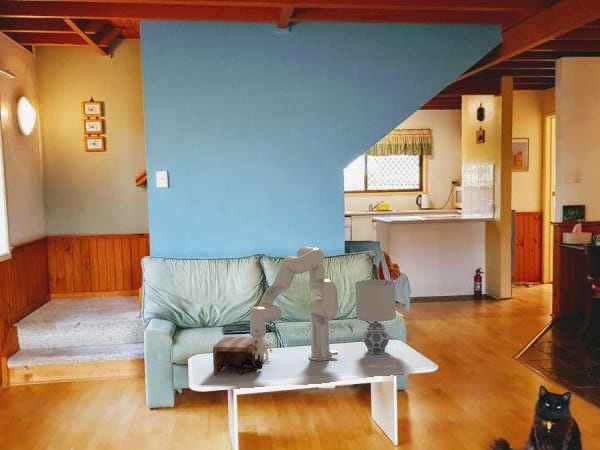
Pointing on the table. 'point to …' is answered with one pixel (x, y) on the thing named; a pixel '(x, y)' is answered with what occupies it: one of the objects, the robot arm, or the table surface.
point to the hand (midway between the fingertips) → (259, 368)
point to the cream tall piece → (267, 348)
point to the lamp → (375, 311)
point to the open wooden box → (232, 352)
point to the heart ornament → (246, 366)
